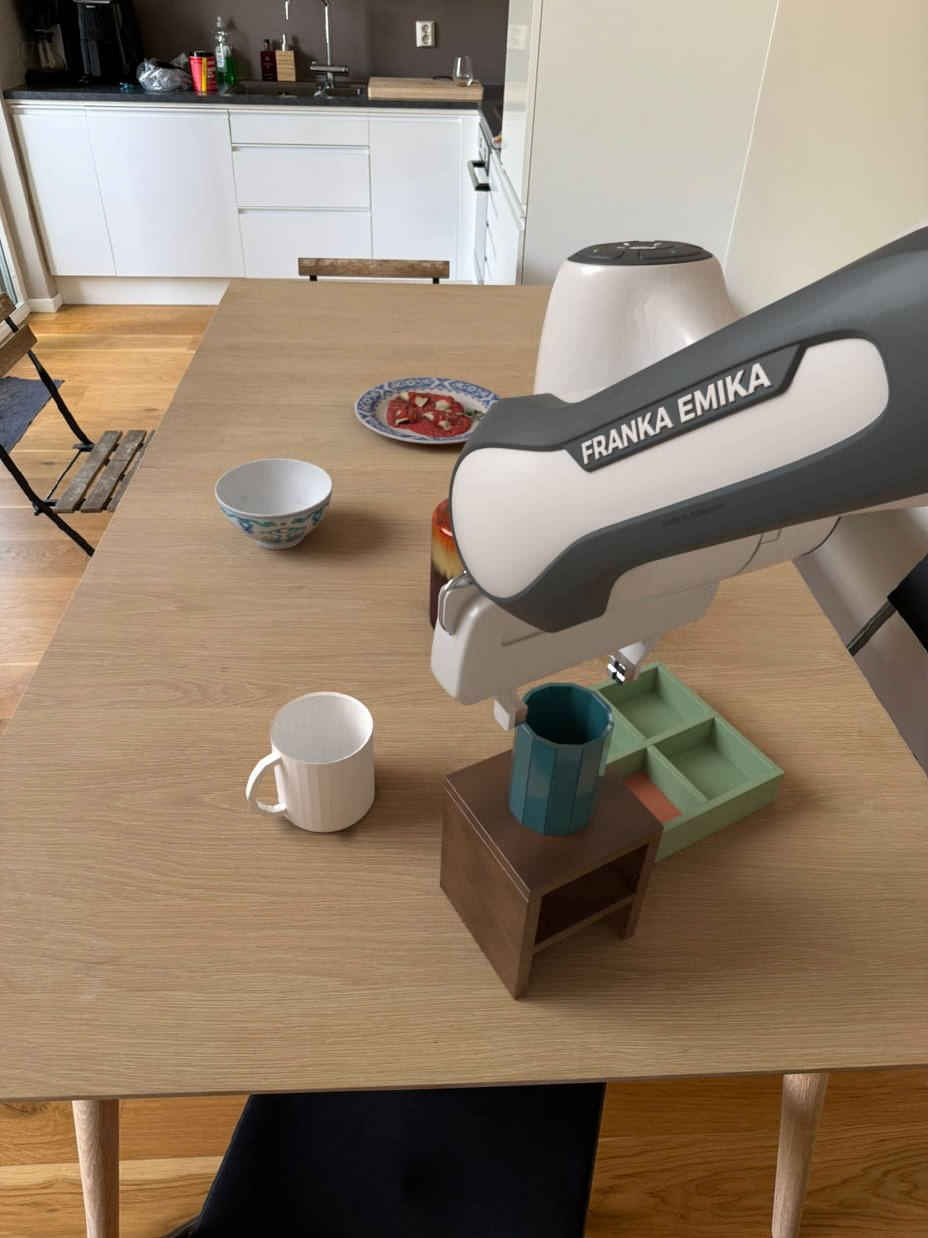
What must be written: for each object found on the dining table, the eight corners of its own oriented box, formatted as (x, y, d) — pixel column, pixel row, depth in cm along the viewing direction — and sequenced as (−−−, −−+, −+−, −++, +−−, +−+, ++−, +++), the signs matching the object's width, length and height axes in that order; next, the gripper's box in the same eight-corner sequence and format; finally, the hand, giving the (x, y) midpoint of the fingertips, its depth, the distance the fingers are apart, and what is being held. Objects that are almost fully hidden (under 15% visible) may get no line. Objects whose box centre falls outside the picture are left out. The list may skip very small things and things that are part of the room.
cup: (613, 814, 66) (632, 728, 61) (540, 848, 64) (553, 761, 58) (562, 757, 71) (575, 671, 65) (492, 786, 68) (500, 700, 63)
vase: (502, 588, 113) (515, 442, 100) (530, 641, 105) (548, 489, 92) (420, 599, 110) (422, 450, 98) (442, 654, 102) (447, 499, 89)
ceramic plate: (331, 439, 143) (330, 422, 141) (384, 380, 163) (384, 364, 161) (486, 465, 138) (487, 448, 137) (521, 401, 158) (523, 385, 156)
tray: (773, 802, 86) (785, 772, 84) (624, 878, 79) (632, 848, 76) (651, 689, 99) (658, 659, 96) (512, 745, 91) (515, 715, 88)
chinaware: (324, 571, 114) (320, 519, 109) (208, 562, 114) (199, 510, 110) (343, 511, 126) (341, 462, 121) (238, 503, 126) (232, 454, 122)
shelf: (634, 934, 74) (664, 826, 66) (514, 1000, 69) (530, 892, 61) (552, 833, 82) (570, 724, 74) (439, 885, 77) (444, 775, 69)
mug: (357, 751, 89) (353, 682, 84) (388, 817, 83) (387, 746, 77) (237, 785, 85) (226, 714, 80) (261, 857, 79) (249, 786, 73)
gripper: (470, 604, 46) (459, 784, 54) (757, 513, 55) (708, 681, 63) (413, 543, 50) (411, 719, 59) (688, 468, 59) (651, 631, 67)
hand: (567, 699), depth 61 cm, fingers open, 8 cm apart
